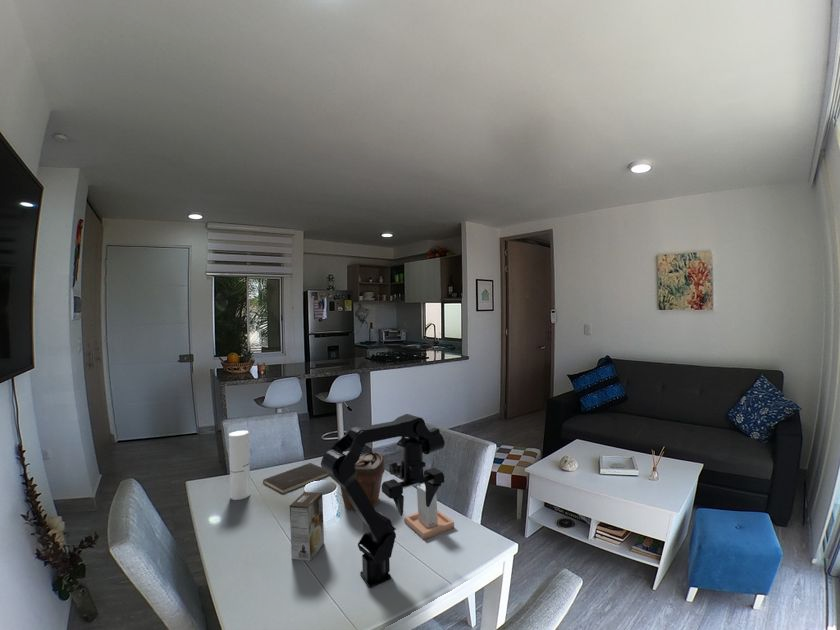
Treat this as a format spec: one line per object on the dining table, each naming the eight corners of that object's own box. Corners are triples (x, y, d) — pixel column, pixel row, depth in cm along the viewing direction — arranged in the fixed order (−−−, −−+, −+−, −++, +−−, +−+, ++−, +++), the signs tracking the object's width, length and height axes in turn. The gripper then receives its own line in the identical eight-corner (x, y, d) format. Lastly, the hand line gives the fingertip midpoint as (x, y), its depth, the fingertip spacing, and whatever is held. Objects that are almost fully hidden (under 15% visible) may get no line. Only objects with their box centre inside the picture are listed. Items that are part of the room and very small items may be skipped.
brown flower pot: (392, 490, 157) (390, 446, 157) (378, 517, 137) (375, 466, 137) (349, 489, 160) (347, 445, 160) (330, 514, 140) (327, 465, 140)
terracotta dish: (423, 539, 123) (423, 533, 123) (404, 522, 133) (404, 517, 133) (454, 527, 129) (454, 521, 129) (433, 512, 139) (433, 506, 139)
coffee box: (305, 541, 124) (304, 490, 124) (324, 543, 122) (323, 492, 122) (290, 559, 115) (289, 505, 115) (310, 561, 113) (309, 506, 113)
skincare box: (438, 524, 130) (437, 488, 130) (427, 529, 127) (426, 492, 127) (428, 516, 135) (427, 481, 135) (417, 520, 133) (416, 485, 132)
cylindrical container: (254, 493, 157) (252, 432, 157) (237, 501, 151) (235, 437, 151) (243, 489, 161) (241, 429, 161) (226, 497, 155) (225, 434, 155)
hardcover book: (330, 476, 174) (330, 470, 174) (282, 495, 157) (282, 489, 157) (309, 467, 185) (309, 462, 185) (263, 484, 167) (263, 478, 167)
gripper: (425, 444, 127) (426, 492, 127) (372, 457, 117) (374, 508, 117) (445, 454, 117) (446, 506, 118) (389, 469, 108) (391, 525, 108)
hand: (414, 511), depth 115 cm, fingers open, 9 cm apart
